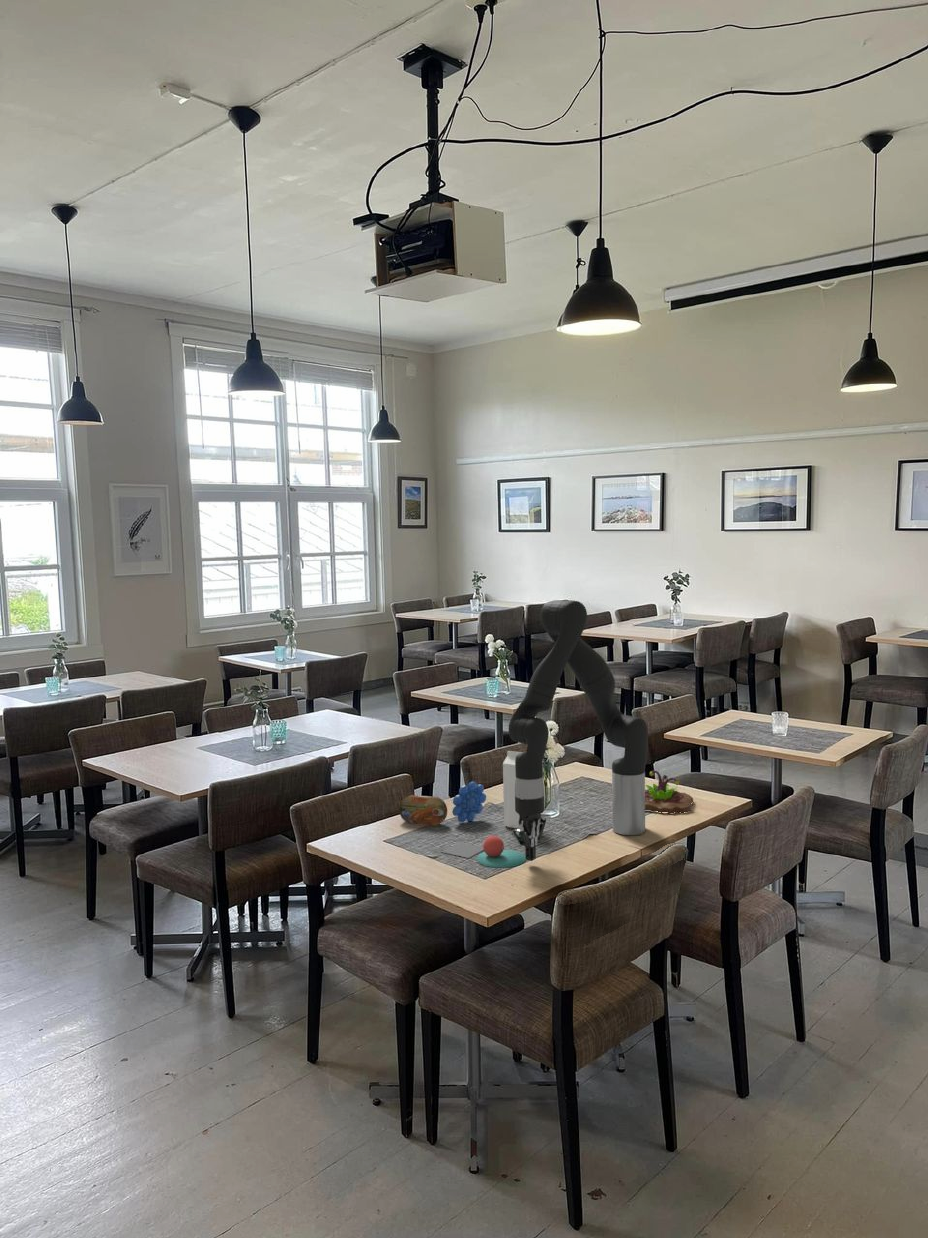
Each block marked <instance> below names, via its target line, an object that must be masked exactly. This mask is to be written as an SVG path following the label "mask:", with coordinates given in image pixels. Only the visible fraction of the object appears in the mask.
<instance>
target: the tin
mask: <svg viewBox="0 0 928 1238" xmlns="http://www.w3.org/2000/svg"><path fill="white" fill-rule="evenodd" d="M398 812H399V815H400V817H401V820H403V821H404V822H405V823H407V824H410V825H420V826H430V827H431V826H433V827H435V826H438V825H440V824H442V823H443V822H444V821H445V820H446V818H447V816H448V806H447V804H446V802H445V801H444V800H443V799H442V798H440V797H438V796H430V795H429V796H428V795H416V794H413V795H411V794H410V795H409V796H405V797H404V798H402V800H401V801H400V803H399V806H398Z"/></svg>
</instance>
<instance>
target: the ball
mask: <svg viewBox="0 0 928 1238" xmlns="http://www.w3.org/2000/svg"><path fill="white" fill-rule="evenodd" d="M482 844H483V845H482V847H483V849H484V851H483V852H485V853H486V854H487V855H488V856H490V857H497V856H499V855H501V853H502V852H503V850H504V848H505V844H504V842H503V840H502V838H500V837H499V836H497V835H491V836H488V837H487V838H486V839H485V840H484V842H483V843H482Z"/></svg>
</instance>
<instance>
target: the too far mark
mask: <svg viewBox="0 0 928 1238" xmlns="http://www.w3.org/2000/svg"><path fill="white" fill-rule="evenodd" d="M483 852H484V849H483V846H481V845H476V844H470V843H468V842H467V843H466V842H462V841H460V842H458V843H456V844H454V845H451V846H450V847H447V848H446V849H444V850H442V851H441V852H440V853H442V854H447V855H451V856H455V855H456V857H459V856H461V857H460V858H464V857H465V858H464V859H468V858H469V859H470V858H472V857H474V856H476V855H479V854H481V853H483Z"/></svg>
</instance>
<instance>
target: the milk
mask: <svg viewBox="0 0 928 1238" xmlns="http://www.w3.org/2000/svg"><path fill="white" fill-rule="evenodd" d="M506 752H507V753H506V754H507V756H506V757H505V759H504V760H503V762H502V777H503V778H502V782H503V783H502V784H503V786H502V787H503V790H502V791H503V826H504V827H506V826H507V828H513V829H518V827H519V817H520V816H519V814H518V813H517V812H516V811H515V777H516V774H515V759H516V756H517V755H518V754H519V753H522V751H512V750H508V751H506Z"/></svg>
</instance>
